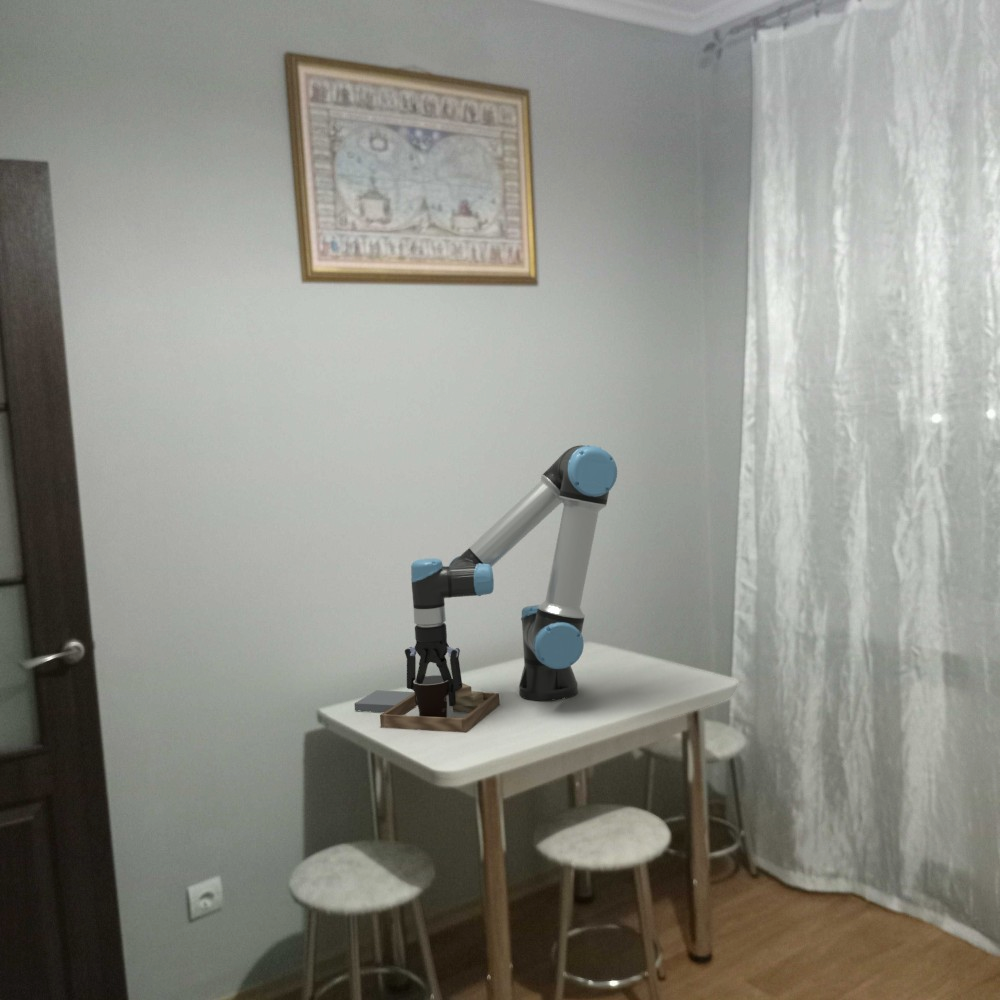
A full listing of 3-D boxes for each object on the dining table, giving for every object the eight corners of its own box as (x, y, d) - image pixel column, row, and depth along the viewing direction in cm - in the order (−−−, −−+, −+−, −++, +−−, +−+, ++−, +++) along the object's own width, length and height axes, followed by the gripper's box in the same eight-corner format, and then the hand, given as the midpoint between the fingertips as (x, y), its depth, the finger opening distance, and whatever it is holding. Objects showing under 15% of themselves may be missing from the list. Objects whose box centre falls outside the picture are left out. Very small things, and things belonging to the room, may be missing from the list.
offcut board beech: (471, 694, 242) (471, 686, 242) (457, 697, 240) (456, 689, 240) (453, 686, 251) (452, 678, 251) (439, 689, 249) (438, 681, 249)
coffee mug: (438, 728, 230) (435, 686, 229) (409, 724, 235) (405, 683, 234) (466, 714, 240) (463, 674, 239) (437, 710, 244) (434, 671, 244)
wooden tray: (499, 704, 246) (499, 693, 246) (466, 732, 226) (465, 719, 226) (420, 700, 254) (419, 689, 254) (380, 727, 234) (379, 714, 233)
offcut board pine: (483, 701, 244) (483, 692, 244) (473, 706, 240) (473, 696, 240) (436, 696, 251) (436, 687, 251) (426, 701, 248) (426, 691, 247)
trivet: (418, 699, 256) (417, 692, 255) (397, 713, 244) (397, 705, 244) (377, 697, 260) (376, 690, 260) (355, 711, 249) (354, 703, 248)
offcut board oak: (490, 710, 245) (489, 700, 245) (481, 715, 241) (480, 705, 241) (434, 705, 252) (433, 696, 252) (425, 710, 248) (424, 701, 248)
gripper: (473, 621, 236) (479, 715, 237) (401, 620, 242) (407, 711, 244) (461, 627, 229) (467, 725, 230) (387, 626, 235) (393, 720, 237)
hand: (436, 718), depth 237 cm, fingers closed on coffee mug, 6 cm apart
